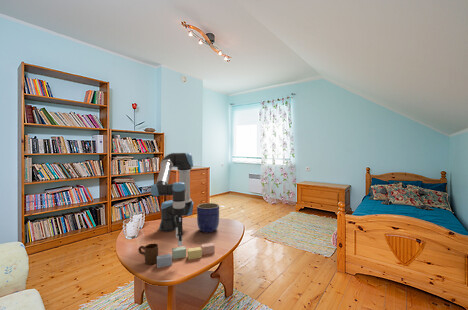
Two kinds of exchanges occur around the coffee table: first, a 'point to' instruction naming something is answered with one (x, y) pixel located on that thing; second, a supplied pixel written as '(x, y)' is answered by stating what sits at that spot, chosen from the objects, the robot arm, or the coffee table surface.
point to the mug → (149, 253)
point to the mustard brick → (194, 253)
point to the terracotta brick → (208, 248)
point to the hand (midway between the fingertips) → (179, 241)
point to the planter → (208, 217)
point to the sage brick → (178, 252)
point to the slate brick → (164, 260)
